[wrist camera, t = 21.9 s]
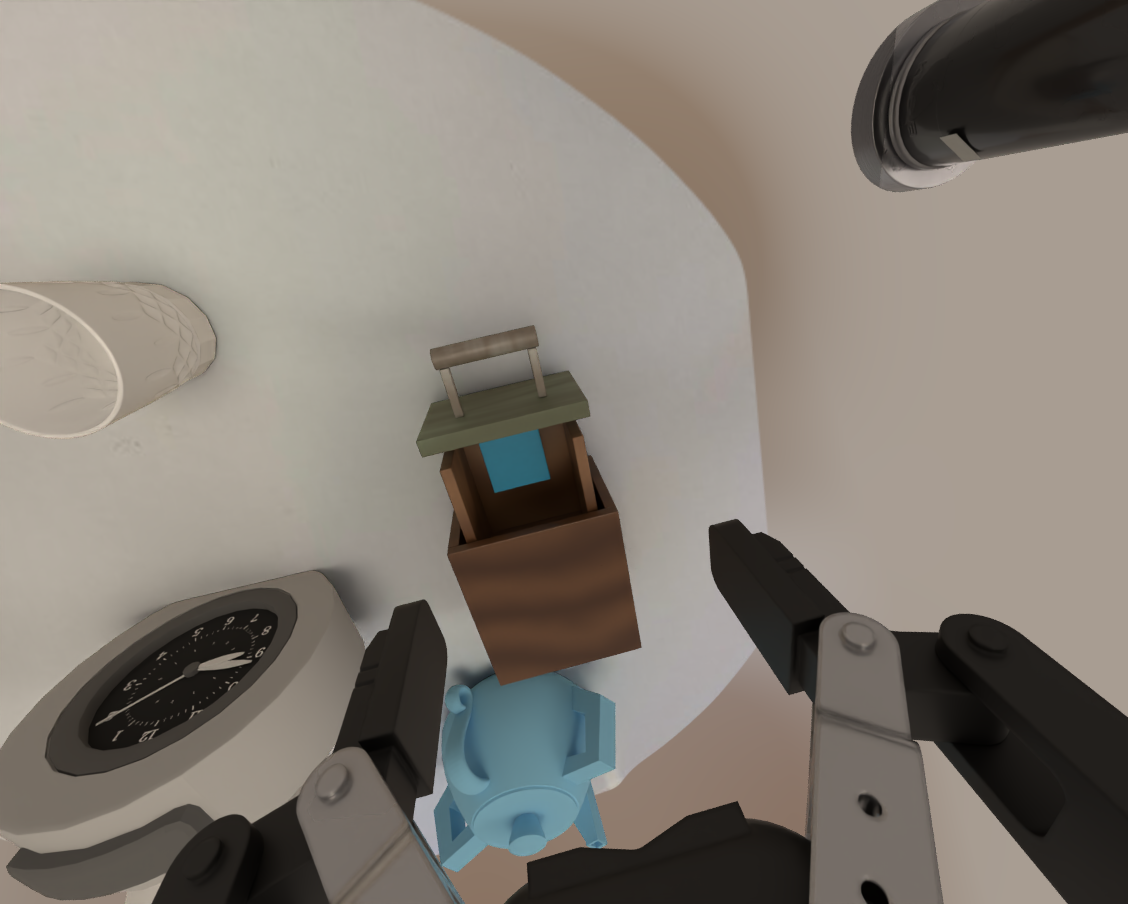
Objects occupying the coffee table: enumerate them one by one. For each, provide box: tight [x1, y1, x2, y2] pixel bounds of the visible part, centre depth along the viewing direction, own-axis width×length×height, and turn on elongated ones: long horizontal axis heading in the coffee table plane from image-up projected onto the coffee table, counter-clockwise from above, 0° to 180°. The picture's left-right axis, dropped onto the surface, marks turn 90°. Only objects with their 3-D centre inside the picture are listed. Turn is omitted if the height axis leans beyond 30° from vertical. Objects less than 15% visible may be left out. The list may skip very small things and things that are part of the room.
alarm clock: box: [0, 570, 365, 900], centre depth 33 cm, size 21×8×20 cm, turn 100°
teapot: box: [434, 672, 615, 872], centre depth 47 cm, size 19×19×14 cm
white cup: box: [0, 281, 216, 439], centre depth 26 cm, size 8×8×10 cm
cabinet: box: [447, 455, 641, 686], centre depth 39 cm, size 15×13×10 cm
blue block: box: [479, 429, 550, 493], centre depth 34 cm, size 4×4×4 cm
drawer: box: [416, 325, 598, 544], centre depth 33 cm, size 18×11×8 cm, turn 11°
